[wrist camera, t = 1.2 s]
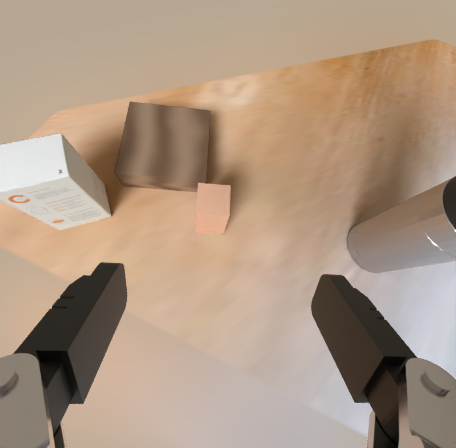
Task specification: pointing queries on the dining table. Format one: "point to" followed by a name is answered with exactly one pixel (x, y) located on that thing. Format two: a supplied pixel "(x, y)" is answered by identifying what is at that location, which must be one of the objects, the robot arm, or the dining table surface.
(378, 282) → the dining table surface
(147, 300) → the dining table surface
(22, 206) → the small box
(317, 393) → the dining table surface
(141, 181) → the walnut block
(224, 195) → the terracotta block
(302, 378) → the dining table surface
